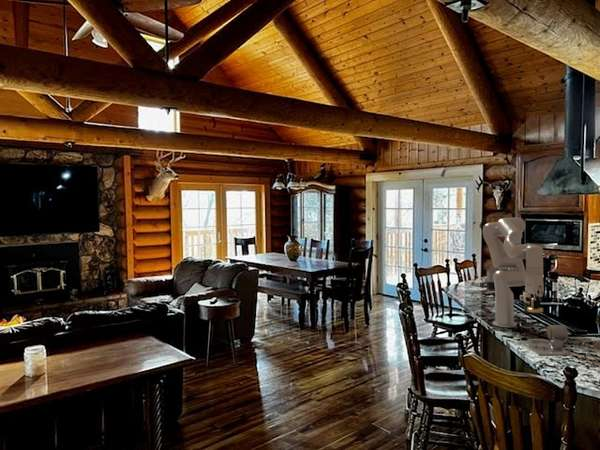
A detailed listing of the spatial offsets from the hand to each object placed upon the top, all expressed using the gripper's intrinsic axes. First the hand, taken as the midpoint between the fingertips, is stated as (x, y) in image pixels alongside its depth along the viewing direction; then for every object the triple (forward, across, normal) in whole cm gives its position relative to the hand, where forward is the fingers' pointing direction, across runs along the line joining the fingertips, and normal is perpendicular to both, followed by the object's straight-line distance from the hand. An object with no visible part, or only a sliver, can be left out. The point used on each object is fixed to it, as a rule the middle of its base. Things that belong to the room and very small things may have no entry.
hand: (534, 307), depth 221 cm
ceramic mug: (+18, -3, +13) cm, 22 cm away
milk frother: (+15, -141, +31) cm, 145 cm away
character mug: (+17, -58, +25) cm, 66 cm away
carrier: (+18, +9, 0) cm, 20 cm away
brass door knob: (+2, 0, 0) cm, 2 cm away
